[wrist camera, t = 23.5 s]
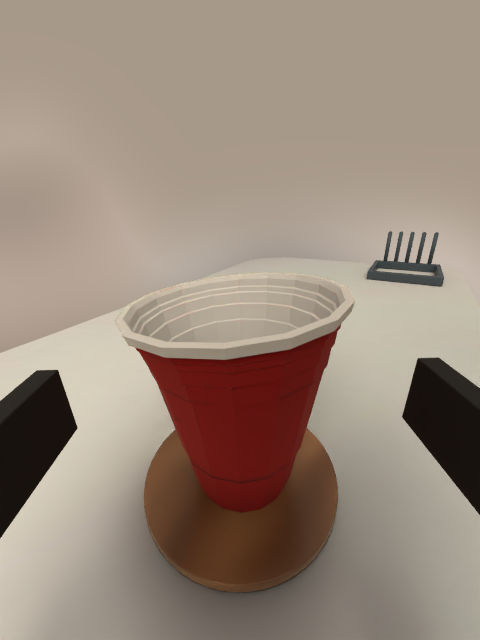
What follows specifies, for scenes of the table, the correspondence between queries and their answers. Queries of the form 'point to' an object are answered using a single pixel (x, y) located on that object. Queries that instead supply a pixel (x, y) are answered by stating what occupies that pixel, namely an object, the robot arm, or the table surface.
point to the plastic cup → (239, 372)
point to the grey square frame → (408, 265)
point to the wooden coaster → (240, 521)
